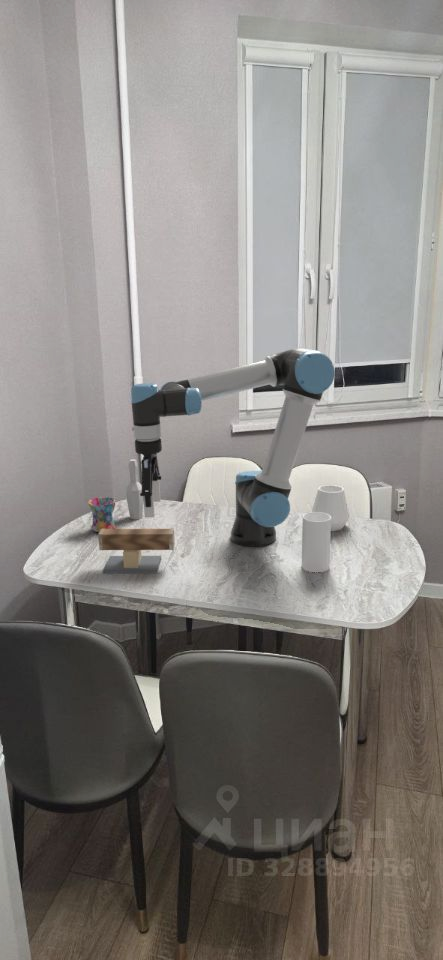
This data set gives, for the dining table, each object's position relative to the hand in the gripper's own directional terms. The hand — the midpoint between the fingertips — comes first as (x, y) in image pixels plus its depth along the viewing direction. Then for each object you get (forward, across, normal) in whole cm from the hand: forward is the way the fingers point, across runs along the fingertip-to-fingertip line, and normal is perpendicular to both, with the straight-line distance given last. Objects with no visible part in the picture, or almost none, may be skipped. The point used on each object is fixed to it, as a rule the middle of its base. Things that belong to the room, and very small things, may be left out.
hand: (152, 508), depth 181 cm
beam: (+12, 0, -6) cm, 13 cm away
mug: (+18, -32, -22) cm, 43 cm away
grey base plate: (+18, 0, -7) cm, 20 cm away
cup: (+19, +1, +48) cm, 52 cm away
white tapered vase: (+20, -33, +57) cm, 68 cm away
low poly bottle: (+18, -43, -13) cm, 48 cm away
